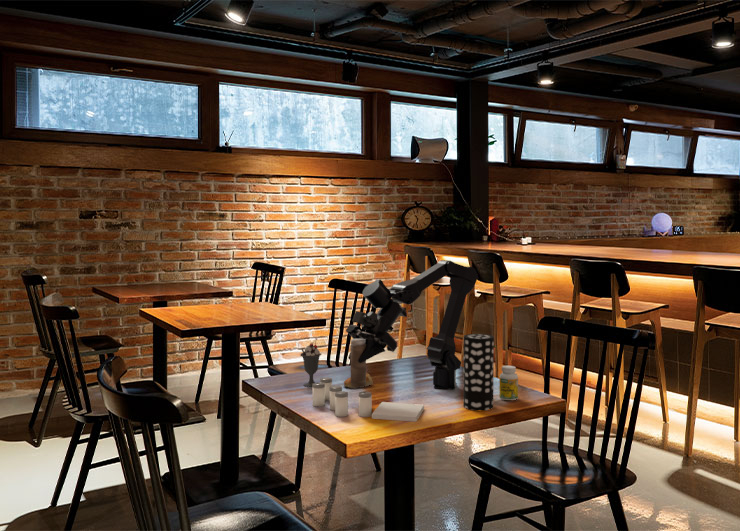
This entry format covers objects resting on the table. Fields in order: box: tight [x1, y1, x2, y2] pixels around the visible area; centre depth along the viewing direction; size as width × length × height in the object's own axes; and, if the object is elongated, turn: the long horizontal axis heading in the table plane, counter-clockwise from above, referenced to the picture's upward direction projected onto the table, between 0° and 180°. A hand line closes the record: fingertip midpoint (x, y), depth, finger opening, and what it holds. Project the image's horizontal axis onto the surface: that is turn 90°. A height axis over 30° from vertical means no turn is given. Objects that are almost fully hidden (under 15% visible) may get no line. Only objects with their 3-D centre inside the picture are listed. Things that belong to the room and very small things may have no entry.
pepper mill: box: [349, 338, 367, 388], centre depth 185 cm, size 4×4×13 cm
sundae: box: [300, 337, 322, 388], centre depth 208 cm, size 7×7×15 cm
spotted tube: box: [462, 333, 495, 411], centre depth 183 cm, size 8×8×20 cm
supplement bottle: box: [498, 365, 519, 401], centre depth 191 cm, size 5×5×10 cm
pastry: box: [343, 372, 374, 389], centre depth 208 cm, size 9×7×4 cm
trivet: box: [371, 401, 425, 422], centre depth 177 cm, size 12×12×1 cm
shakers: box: [311, 377, 373, 418], centre depth 182 cm, size 8×24×6 cm, turn 35°
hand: (354, 360), depth 185 cm, fingers closed on pepper mill, 4 cm apart
